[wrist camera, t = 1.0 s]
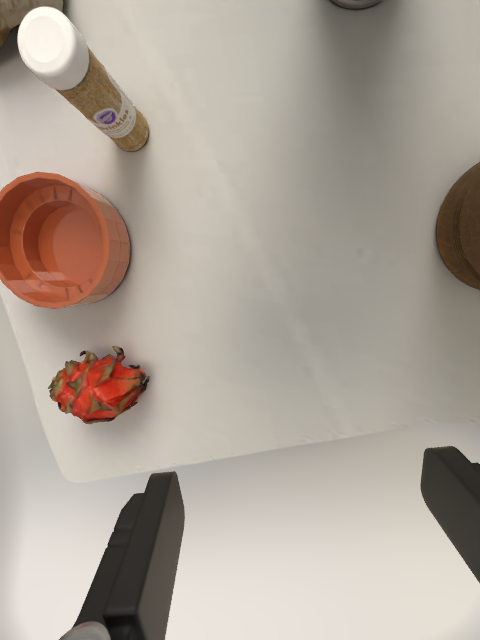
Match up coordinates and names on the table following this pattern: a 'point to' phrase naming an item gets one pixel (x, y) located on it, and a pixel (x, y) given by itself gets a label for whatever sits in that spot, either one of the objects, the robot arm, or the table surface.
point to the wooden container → (462, 228)
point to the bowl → (60, 242)
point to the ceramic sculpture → (20, 12)
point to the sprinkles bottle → (79, 76)
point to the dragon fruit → (98, 387)
